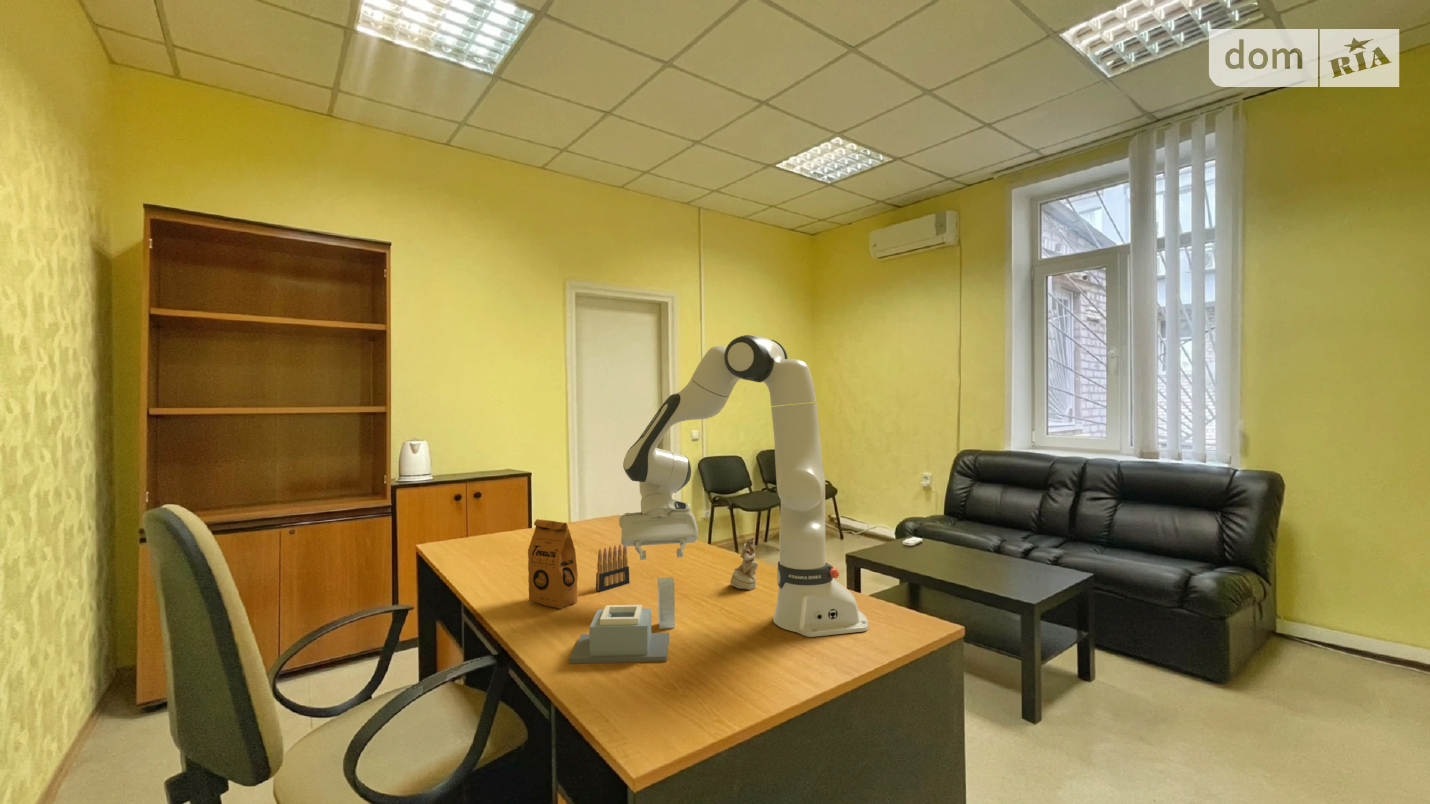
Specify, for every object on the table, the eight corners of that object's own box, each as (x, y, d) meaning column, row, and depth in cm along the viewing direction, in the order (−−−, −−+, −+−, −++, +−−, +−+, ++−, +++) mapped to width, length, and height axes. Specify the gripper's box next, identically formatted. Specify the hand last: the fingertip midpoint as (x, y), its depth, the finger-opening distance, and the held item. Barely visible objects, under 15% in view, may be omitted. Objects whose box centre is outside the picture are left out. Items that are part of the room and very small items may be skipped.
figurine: (758, 595, 162) (773, 545, 162) (736, 592, 159) (751, 541, 159) (746, 584, 168) (761, 536, 168) (725, 581, 165) (740, 532, 165)
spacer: (641, 610, 127) (641, 604, 127) (638, 624, 119) (638, 618, 119) (606, 610, 127) (605, 605, 127) (599, 625, 119) (599, 619, 119)
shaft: (672, 622, 138) (672, 577, 138) (674, 628, 134) (674, 581, 134) (658, 623, 137) (658, 578, 137) (660, 629, 134) (659, 582, 134)
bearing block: (669, 636, 129) (669, 606, 129) (666, 661, 117) (666, 627, 117) (581, 638, 129) (580, 607, 129) (569, 663, 117) (568, 629, 117)
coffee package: (556, 613, 144) (555, 526, 144) (523, 604, 151) (522, 521, 151) (584, 601, 153) (583, 519, 153) (551, 593, 159) (551, 515, 159)
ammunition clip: (599, 592, 160) (599, 549, 160) (595, 590, 161) (595, 548, 161) (629, 583, 167) (629, 542, 167) (625, 581, 169) (625, 541, 169)
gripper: (619, 506, 150) (620, 553, 140) (695, 503, 154) (702, 548, 144) (618, 520, 154) (620, 566, 145) (692, 516, 158) (699, 561, 149)
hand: (661, 557), depth 145 cm, fingers open, 8 cm apart
